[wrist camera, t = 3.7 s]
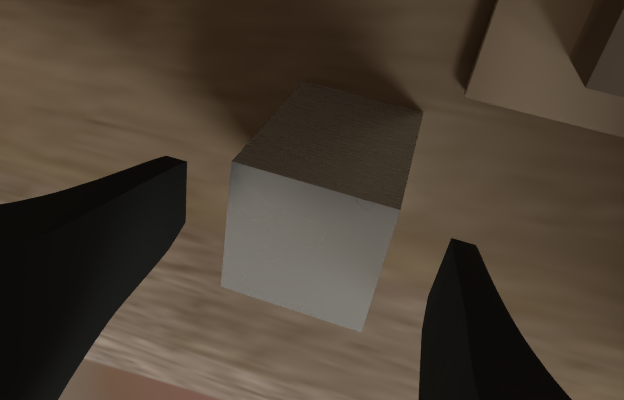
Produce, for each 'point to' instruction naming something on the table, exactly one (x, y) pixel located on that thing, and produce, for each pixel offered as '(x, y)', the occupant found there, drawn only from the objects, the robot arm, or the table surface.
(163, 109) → the table surface
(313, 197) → the block
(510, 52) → the socket block
